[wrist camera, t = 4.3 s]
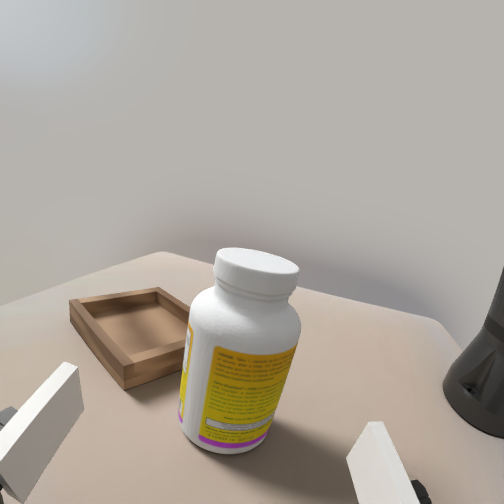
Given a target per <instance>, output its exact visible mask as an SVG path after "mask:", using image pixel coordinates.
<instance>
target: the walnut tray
mask: <svg viewBox="0 0 504 504" xmlns="http://www.w3.org/2000/svg"><path fill="white" fill-rule="evenodd" d="M69 305H70V322H71V323H72V325H73V326H74V327H75V329H76V330H77V332H78V333H79V334H80V336H81V337H82V339H83V340H84V341H85V343H86V344H87V345H88V347H89V348H90V349H91V351H92V352H93V353H94V355H95V356H96V357H97V358H98V360H99V361H100V362H101V363H102V365H103V366H104V367H105V368H106V370H107V371H108V372H109V373H110V374H111V376H112V377H113V378H114V379H115V380H116V382H117V383H118V384H119V385H120V386H121V387H122V388H123V390H126V389H129V388H132V387H135V386H138V385H141V384H144V383H147V382H149V381H152V380H155V379H158V378H160V377H163V376H166V375H168V374H171V373H174V372H176V371H179V370H182V369H183V361H184V352H185V344H186V336H187V328H188V320H189V313H190V307H189V306H187V305H186V304H184V303H183V302H181V301H179V300H178V299H176V298H175V297H173V296H172V295H170V294H169V293H167V292H166V291H164V290H163V289H161V288H159V287H157V288H150V289H143V290H137V291H130V292H123V293H116V294H109V295H102V296H95V297H88V298H81V299H74V300H69Z"/></svg>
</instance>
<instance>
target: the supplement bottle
mask: <svg viewBox="0 0 504 504" xmlns="http://www.w3.org/2000/svg"><path fill="white" fill-rule="evenodd" d="M213 273H214V279H215V281H216V282H215V286H214V287H211V288H209V289H206V290H204V291H203V292H201V293H200V294H199V295H198V296H197V297H196V298H195V299H194V301H193V303H192V305H191V308H190V313H189V320H188V328H187V336H186V344H185V352H184V361H183V369H182V378H181V386H180V397H179V407H178V420H179V424H180V427H181V429H182V431H183V432H184V434H185V435H186V436H187V437H188V438H189V439H190V440H191V441H192V442H193V443H195V444H196V445H198V446H200V447H201V448H203V449H206V450H208V451H211V452H215V453H220V454H238V453H243V452H246V451H249V450H251V449H253V448H255V447H256V446H258V445H259V444H260V443H261V442H262V441H263V440H264V438H265V437H266V435H267V432H268V430H269V428H270V425H271V422H272V419H273V416H274V414H275V411H276V408H277V405H278V402H279V399H280V396H281V393H282V390H283V387H284V384H285V381H286V378H287V375H288V372H289V369H290V366H291V362H292V359H293V356H294V353H295V350H296V347H297V344H298V340H299V337H300V333H301V322H300V318H299V316H298V314H297V312H296V311H295V309H294V308H293V307H292V306H291V305H290V304H289V303H288V298H289V296H290V295H291V294H292V292H293V291H294V290H295V288H296V284H297V280H298V276H299V268H298V266H296V265H295V264H294V263H292V262H290V261H289V260H286V259H284V258H282V257H278V256H275V255H272V254H269V253H265V252H260V251H256V250H250V249H242V248H224V249H220V250H219V251H218V252H217V255H216V260H215V264H214V268H213Z"/></svg>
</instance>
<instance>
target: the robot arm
mask: <svg viewBox="0 0 504 504" xmlns="http://www.w3.org/2000/svg"><path fill="white" fill-rule="evenodd" d="M443 391H444V394H445V396H446V398H447V400H448V402H449V403H450V404H451V406H452V407H453V408H454V409H455V410H456V412H457V413H458V414H459V415H461V416H462V417H463V418H464V419H465V420H466V421H468V422H469V423H471V424H472V425H474V426H475V427H477V428H479V429H480V430H482V431H485V432H487V433H489V434H492V435H495V436H500V437H504V267H503V271H502V274H501V277H500V281H499V284H498V287H497V290H496V293H495V295H494V298H493V301H492V304H491V307H490V309H489V312H488V314H487V317H486V320H485V322H484V324H483V327H482V329H481V331H480V332H479V333H478V335H477V336H476V337H475V338H474V340H473V341H472V342H471V343H470V345H469V346H468V347H467V348H466V349H465V350H464V351H463V353H462V354H461V355H460V356H459V357H458V358H457V359H456V360H455V362H454V363H453V364H452V366H451V367H450V369H449V371H448V373H447V375H446V377H445V379H444V381H443ZM83 410H84V405H83V399H82V393H81V386H80V379H79V371H78V367H77V366H74V365H72V364H70V363H67V362H65V361H64V362H63V363H62V364H61V365H60V366H59V367H58V368H57V369H56V371H55V372H54V373H53V374H52V375H51V376H50V377H49V378H48V379H47V380H46V381H45V382H44V383H43V384H42V385H41V386H40V387H39V389H38V390H37V391H36V392H35V393H34V394H33V395H32V396H31V397H30V398H29V399H28V401H27V402H26V403H25V404H24V405H23V406H22V407H21V408H20V409H19V410H16V409H14V408H13V407H11V406H10V407H8V408H6V409H4V410H2V411H0V491H1V490H2V488H4V490H5V491H6V492H7V494H8V495H10V496H11V497H13V498H14V499H16V500H17V501H19V502H20V503H22V504H24V502H25V501H26V499H27V497H28V496H29V494H30V492H31V491H32V489H33V487H34V486H35V484H36V483H37V481H38V479H39V478H40V476H41V474H42V473H43V471H44V470H45V468H46V467H47V465H48V463H49V462H50V460H51V459H52V457H53V456H54V454H55V452H56V451H57V449H58V448H59V446H60V445H61V443H62V442H63V440H64V439H65V437H66V436H67V434H68V433H69V431H70V430H71V428H72V427H73V425H74V424H75V422H76V421H77V419H78V418H79V416H80V415H81V413H82V412H83ZM346 460H347V463H348V466H349V470H350V473H351V477H352V480H353V484H354V487H355V491H356V494H357V498H358V502H359V504H431V503H432V502H431V500H430V498H429V497H428V496H429V495H428V493H427V491H426V489H425V487H424V486H423V485H422V484H421V483H420V482H419V481H418V480H413V481H410V480H409V478H408V475H407V473H406V471H405V469H404V467H403V464H402V462H401V460H400V458H399V456H398V453H397V451H396V449H395V447H394V445H393V443H392V441H391V438H390V436H389V434H388V432H387V430H386V428H385V426H384V424H383V422H382V421H380V422H368V423H367V425H366V427H365V428H364V430H363V432H362V433H361V435H360V437H359V438H358V440H357V442H356V443H355V445H354V446H353V448H352V449H351V451H350V453H349V454H348V456H347V457H346ZM0 504H4V502H3V498H2V495H1V492H0Z"/></svg>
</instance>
